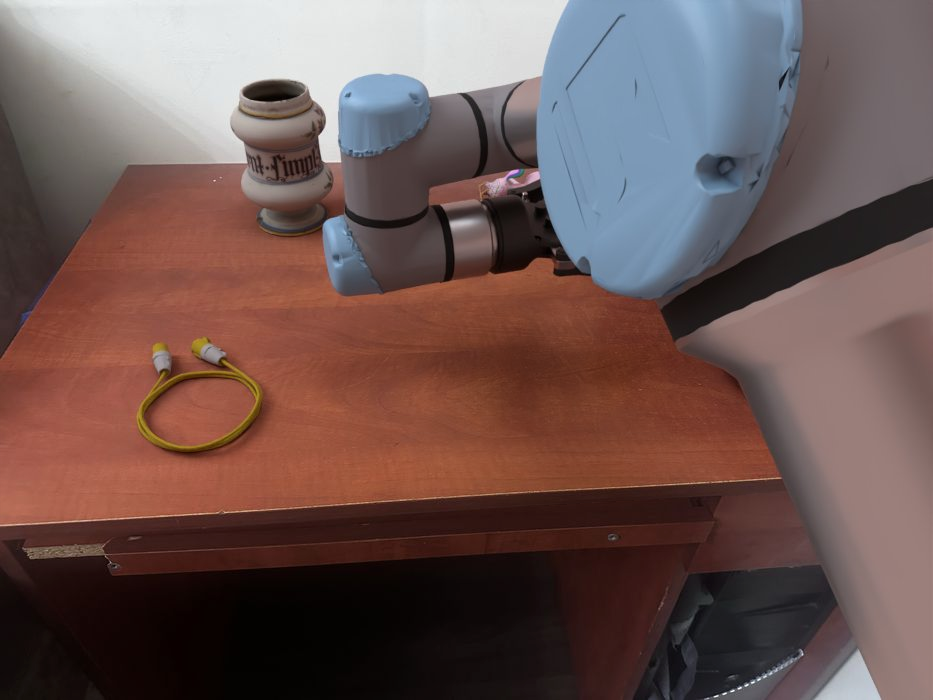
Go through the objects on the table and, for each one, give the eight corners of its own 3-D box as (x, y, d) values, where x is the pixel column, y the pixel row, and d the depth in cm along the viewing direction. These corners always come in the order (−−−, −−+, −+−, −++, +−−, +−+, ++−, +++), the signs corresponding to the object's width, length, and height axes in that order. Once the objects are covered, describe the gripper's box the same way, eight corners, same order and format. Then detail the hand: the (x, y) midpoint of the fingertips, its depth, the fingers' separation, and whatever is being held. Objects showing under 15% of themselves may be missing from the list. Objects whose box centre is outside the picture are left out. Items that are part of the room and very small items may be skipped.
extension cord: (274, 346, 77) (271, 331, 76) (253, 454, 65) (249, 439, 64) (158, 348, 76) (154, 334, 75) (116, 459, 64) (109, 444, 63)
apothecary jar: (235, 210, 100) (210, 81, 88) (314, 190, 105) (301, 66, 93) (267, 249, 92) (245, 114, 80) (351, 226, 97) (341, 96, 86)
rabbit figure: (482, 215, 104) (584, 201, 103) (477, 178, 100) (583, 163, 99) (479, 195, 109) (576, 181, 108) (474, 159, 105) (575, 145, 104)
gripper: (445, 211, 81) (610, 189, 87) (530, 344, 63) (731, 305, 69) (446, 149, 76) (621, 130, 82) (538, 273, 58) (754, 238, 64)
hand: (671, 210), depth 75 cm, fingers open, 13 cm apart
